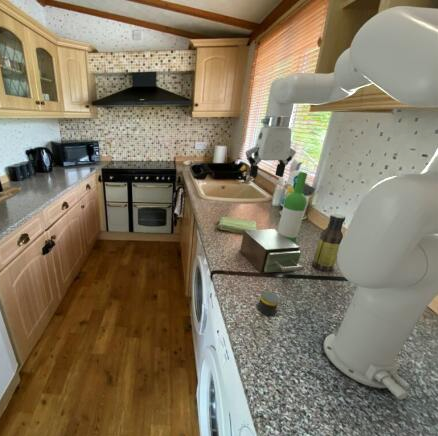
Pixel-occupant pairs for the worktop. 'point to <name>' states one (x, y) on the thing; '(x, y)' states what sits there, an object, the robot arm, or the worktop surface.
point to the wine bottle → (293, 210)
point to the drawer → (282, 261)
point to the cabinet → (264, 245)
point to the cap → (268, 303)
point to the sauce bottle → (329, 243)
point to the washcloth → (236, 225)
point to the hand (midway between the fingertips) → (265, 176)
